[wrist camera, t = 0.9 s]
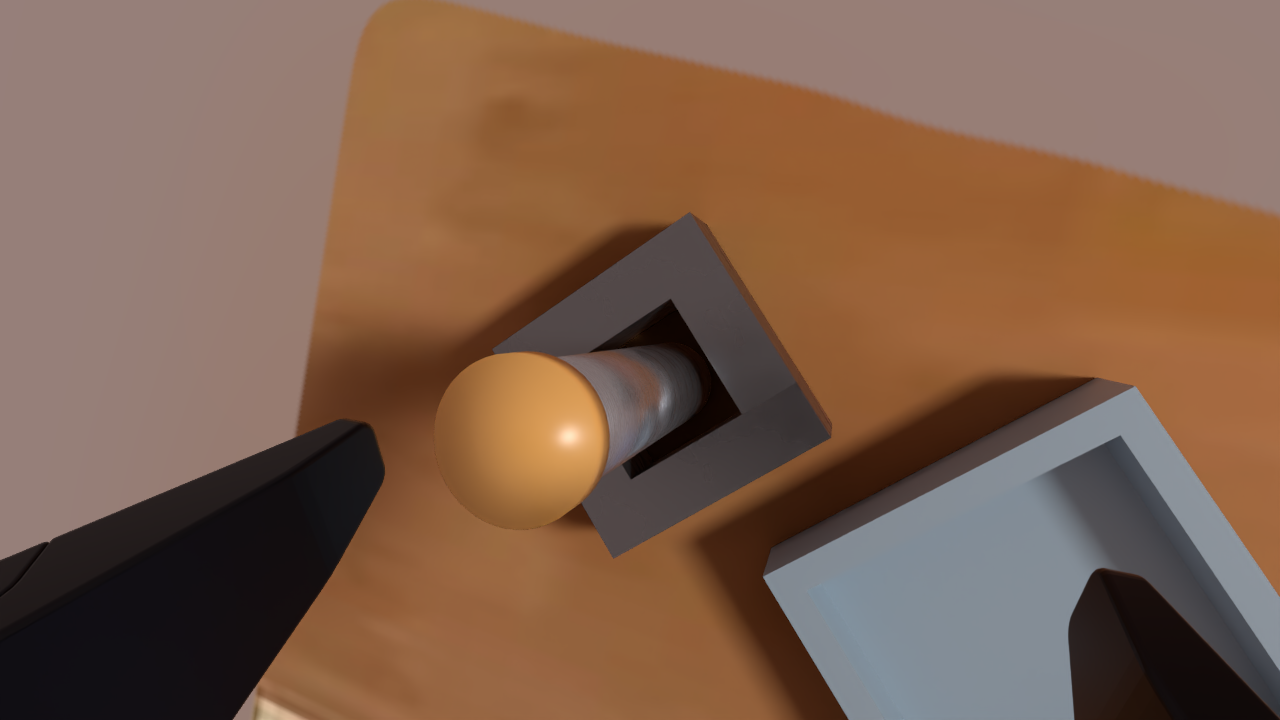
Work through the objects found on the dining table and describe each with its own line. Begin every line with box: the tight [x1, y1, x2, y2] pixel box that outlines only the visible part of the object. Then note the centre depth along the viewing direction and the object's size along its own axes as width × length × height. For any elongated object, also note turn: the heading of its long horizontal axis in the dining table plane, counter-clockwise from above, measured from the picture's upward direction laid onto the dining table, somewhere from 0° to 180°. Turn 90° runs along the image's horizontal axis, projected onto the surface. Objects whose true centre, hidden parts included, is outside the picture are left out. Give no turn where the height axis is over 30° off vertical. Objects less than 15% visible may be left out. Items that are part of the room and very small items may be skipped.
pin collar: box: [492, 212, 832, 559], centre depth 24 cm, size 8×8×3 cm
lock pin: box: [434, 343, 711, 530], centre depth 20 cm, size 3×3×13 cm
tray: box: [763, 378, 1280, 720], centre depth 22 cm, size 12×12×3 cm
